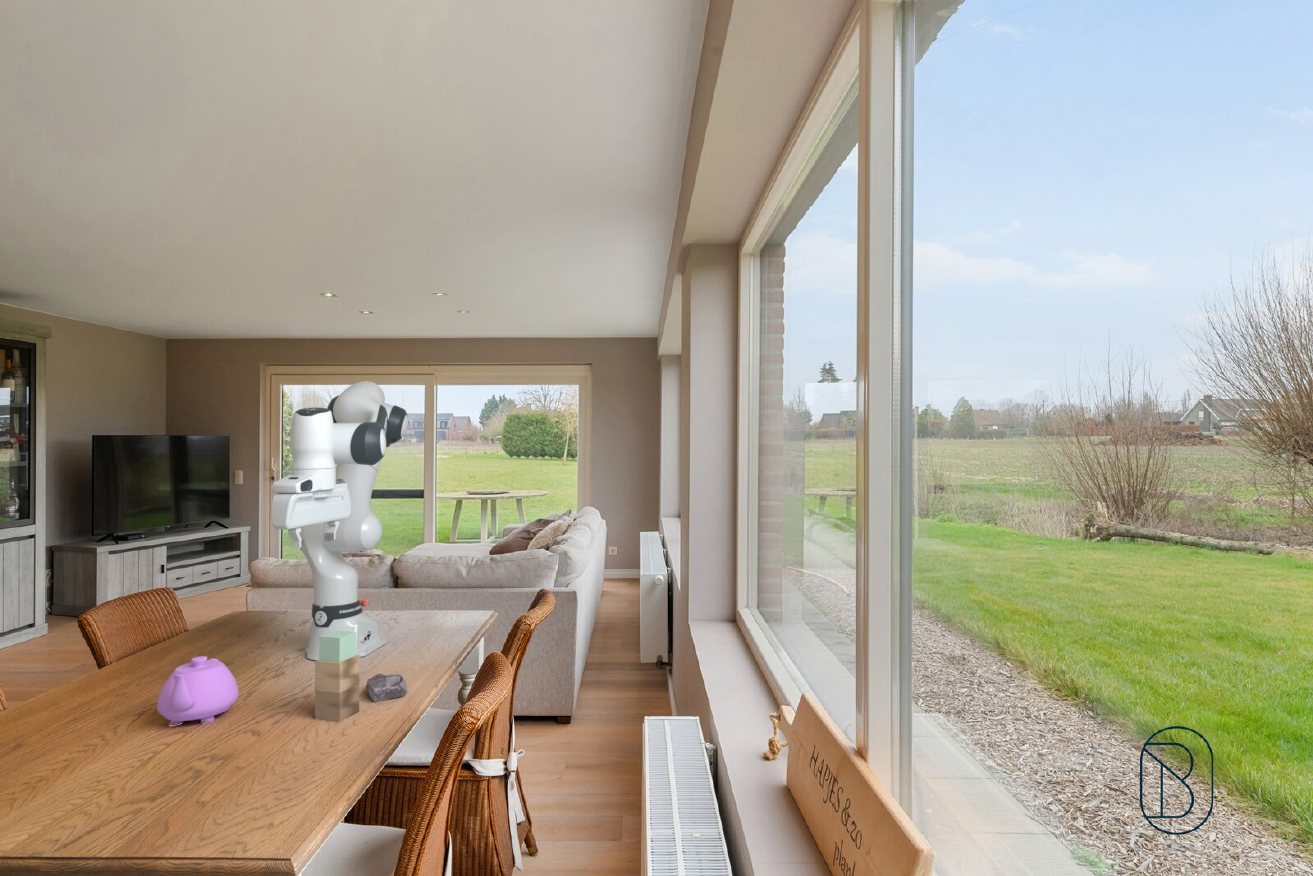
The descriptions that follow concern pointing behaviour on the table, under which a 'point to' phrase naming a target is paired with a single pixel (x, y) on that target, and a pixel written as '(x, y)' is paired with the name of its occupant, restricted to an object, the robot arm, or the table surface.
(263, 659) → the table surface
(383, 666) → the table surface
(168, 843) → the table surface
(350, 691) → the tower bottom
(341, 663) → the tower top
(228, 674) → the teapot
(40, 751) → the table surface
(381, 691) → the rock
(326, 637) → the sage block
